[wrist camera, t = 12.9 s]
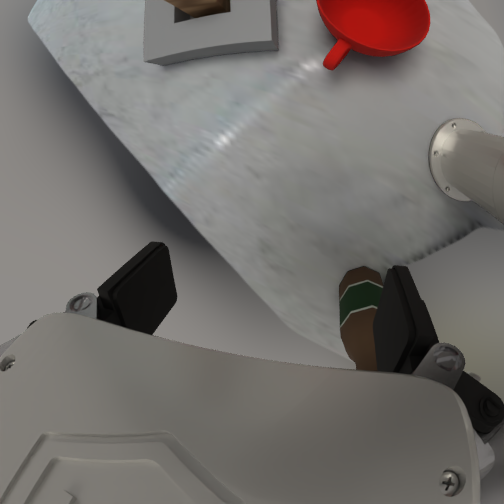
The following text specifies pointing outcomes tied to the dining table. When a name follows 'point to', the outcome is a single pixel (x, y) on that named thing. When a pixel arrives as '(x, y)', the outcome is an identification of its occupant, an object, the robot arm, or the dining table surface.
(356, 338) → the beer bottle
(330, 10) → the ceramic cup
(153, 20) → the well block
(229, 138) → the dining table surface
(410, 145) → the dining table surface
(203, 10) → the brown rectangular block
